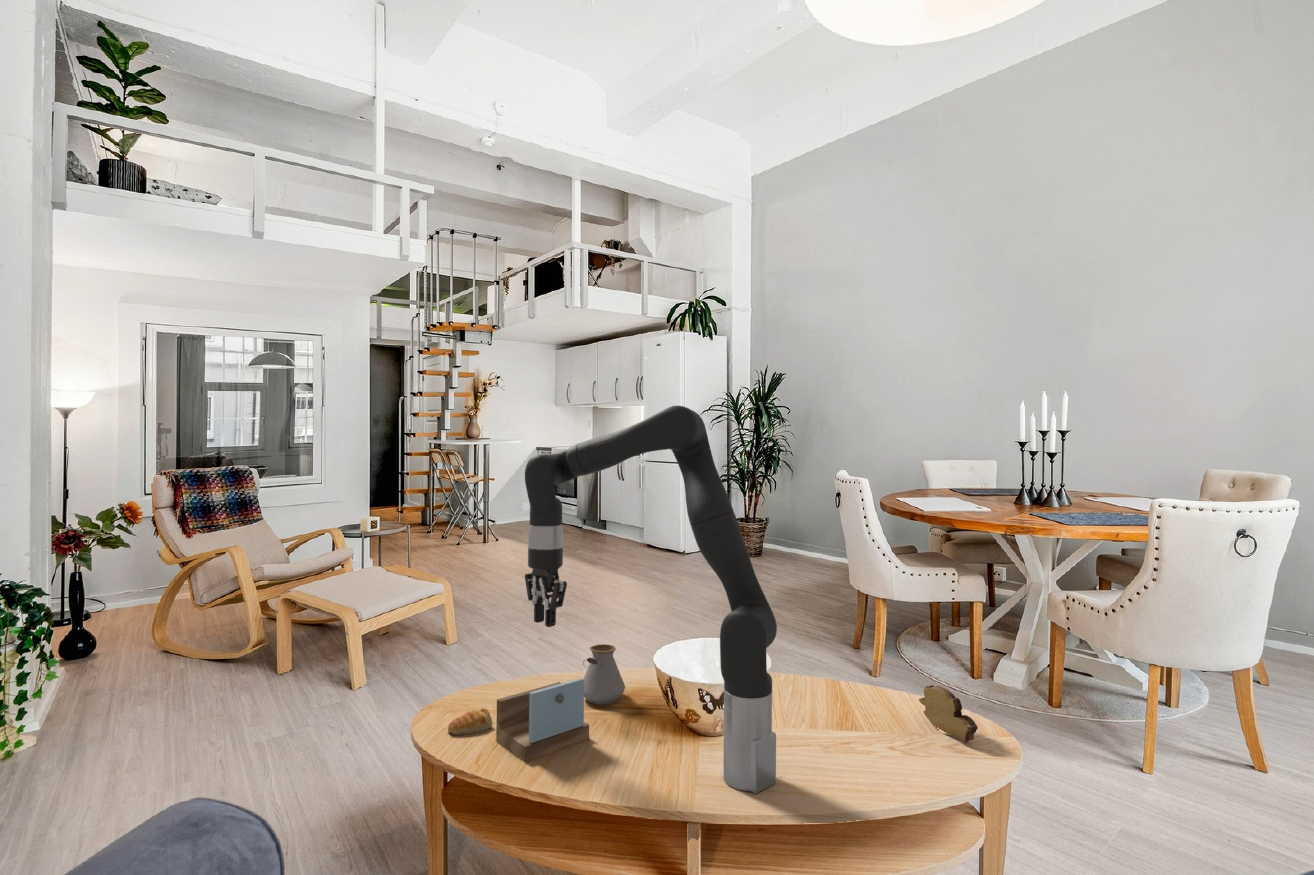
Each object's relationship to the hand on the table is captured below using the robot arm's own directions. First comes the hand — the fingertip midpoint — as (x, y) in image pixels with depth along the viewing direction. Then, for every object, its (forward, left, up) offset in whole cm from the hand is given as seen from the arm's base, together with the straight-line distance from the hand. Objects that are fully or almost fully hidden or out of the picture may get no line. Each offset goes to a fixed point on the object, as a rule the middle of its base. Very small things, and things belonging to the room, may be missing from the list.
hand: (544, 623), depth 140 cm
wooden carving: (-56, -72, -26) cm, 94 cm away
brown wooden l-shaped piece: (0, 0, -25) cm, 25 cm away
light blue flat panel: (-6, 0, -22) cm, 23 cm away
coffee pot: (+7, -20, -26) cm, 33 cm away
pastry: (+15, +9, -26) cm, 31 cm away
